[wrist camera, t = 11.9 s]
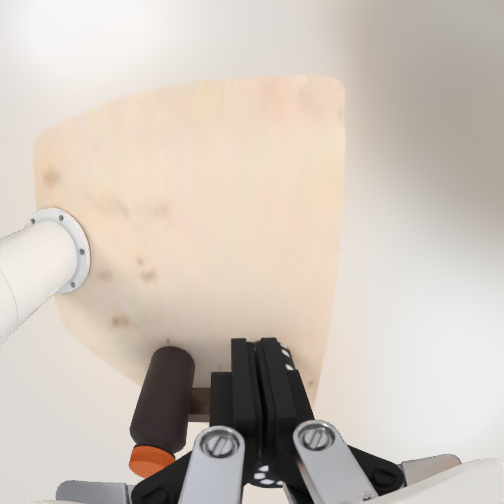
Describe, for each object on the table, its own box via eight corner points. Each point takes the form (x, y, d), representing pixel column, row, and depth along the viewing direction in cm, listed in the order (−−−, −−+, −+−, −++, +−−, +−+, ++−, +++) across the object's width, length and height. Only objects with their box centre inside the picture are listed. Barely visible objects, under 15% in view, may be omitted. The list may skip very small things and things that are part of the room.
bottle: (189, 383, 42) (176, 489, 23) (149, 370, 41) (119, 473, 22) (200, 353, 41) (188, 467, 21) (156, 339, 39) (121, 449, 20)
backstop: (189, 395, 43) (186, 421, 37) (187, 387, 43) (184, 414, 37) (273, 393, 44) (277, 419, 38) (273, 385, 43) (278, 411, 38)
